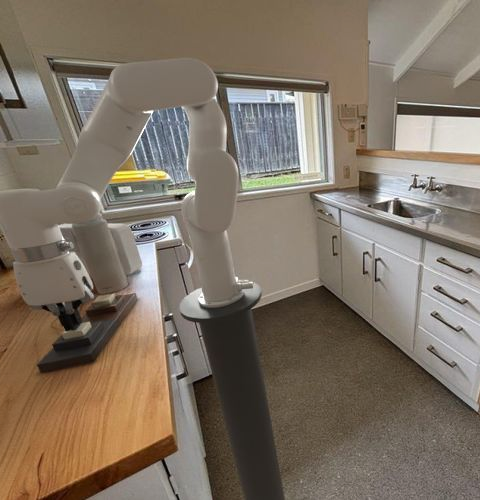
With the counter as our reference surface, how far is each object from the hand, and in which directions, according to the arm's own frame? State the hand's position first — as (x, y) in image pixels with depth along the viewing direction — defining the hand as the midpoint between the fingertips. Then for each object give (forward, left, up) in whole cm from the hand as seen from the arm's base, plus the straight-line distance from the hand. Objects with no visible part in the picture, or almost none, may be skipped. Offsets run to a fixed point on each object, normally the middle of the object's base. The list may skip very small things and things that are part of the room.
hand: (74, 326), depth 64 cm
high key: (0, 0, -2) cm, 2 cm away
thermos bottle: (+6, -33, -6) cm, 34 cm away
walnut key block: (0, -14, -6) cm, 15 cm away
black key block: (0, 0, -6) cm, 6 cm away
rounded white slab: (+15, -50, -6) cm, 53 cm away
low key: (0, -14, -2) cm, 14 cm away
